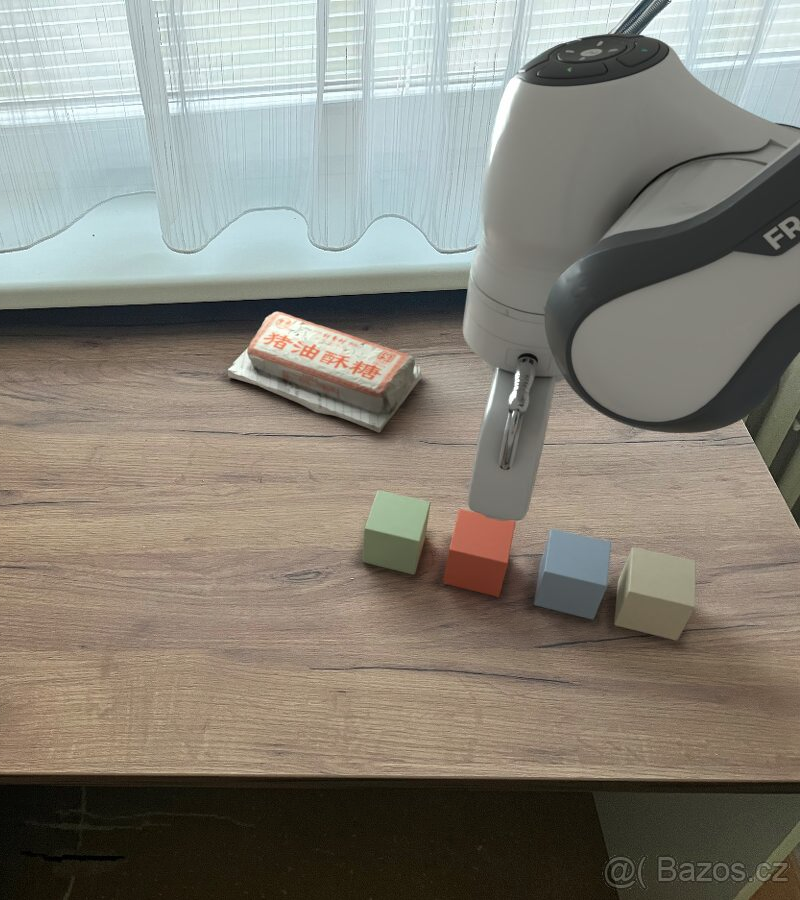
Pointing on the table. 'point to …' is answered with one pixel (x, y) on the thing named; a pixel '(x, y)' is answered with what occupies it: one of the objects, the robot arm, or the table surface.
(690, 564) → the cream block
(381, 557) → the sage block
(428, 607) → the table surface
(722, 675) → the table surface
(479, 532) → the coral block
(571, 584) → the blue-grey block
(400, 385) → the packaged product
